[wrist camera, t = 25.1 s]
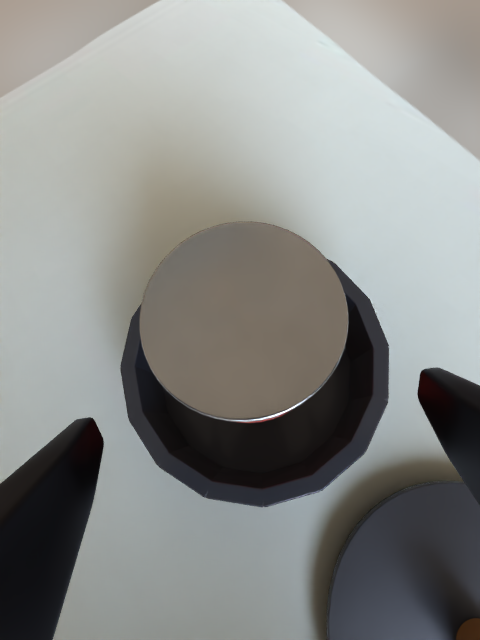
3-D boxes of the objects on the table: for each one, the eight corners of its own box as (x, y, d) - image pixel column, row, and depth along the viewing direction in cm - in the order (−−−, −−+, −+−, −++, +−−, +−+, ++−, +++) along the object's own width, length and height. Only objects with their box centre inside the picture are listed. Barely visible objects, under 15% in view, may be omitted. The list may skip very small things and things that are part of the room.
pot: (394, 449, 20) (436, 459, 15) (175, 512, 20) (147, 541, 15) (320, 253, 24) (334, 212, 19) (136, 304, 24) (104, 275, 19)
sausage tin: (283, 436, 20) (312, 462, 8) (192, 400, 21) (100, 375, 9) (314, 344, 22) (375, 251, 10) (227, 314, 23) (186, 197, 11)
